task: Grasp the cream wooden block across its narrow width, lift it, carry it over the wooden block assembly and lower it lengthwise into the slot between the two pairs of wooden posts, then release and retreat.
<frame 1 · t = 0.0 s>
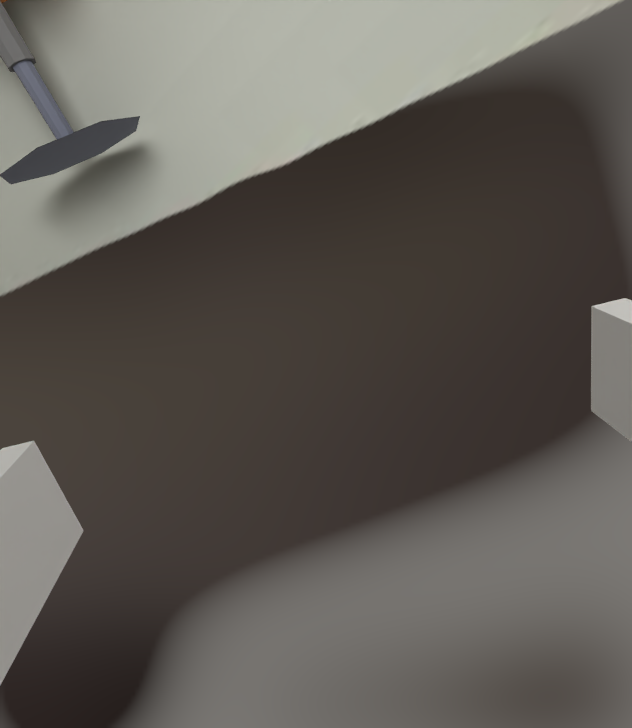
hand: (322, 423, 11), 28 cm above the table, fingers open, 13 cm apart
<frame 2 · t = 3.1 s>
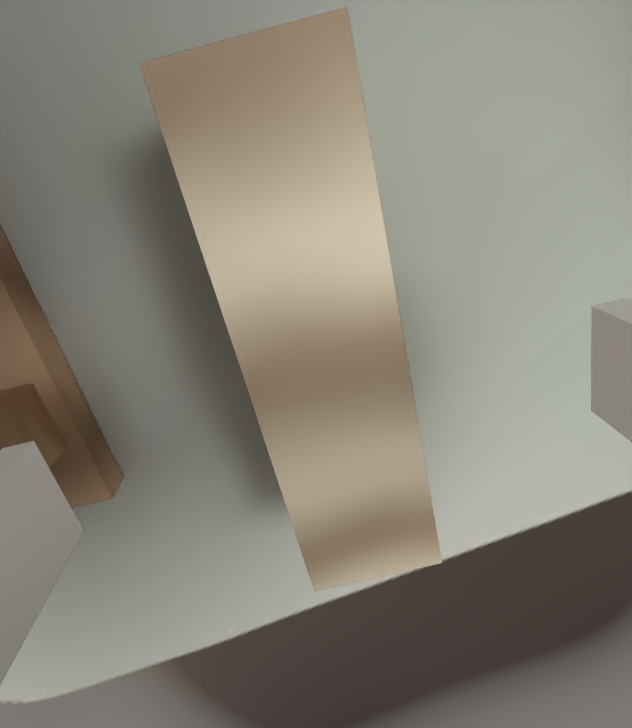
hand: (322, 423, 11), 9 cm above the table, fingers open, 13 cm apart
cream wooden block: (312, 302, 19), on the table
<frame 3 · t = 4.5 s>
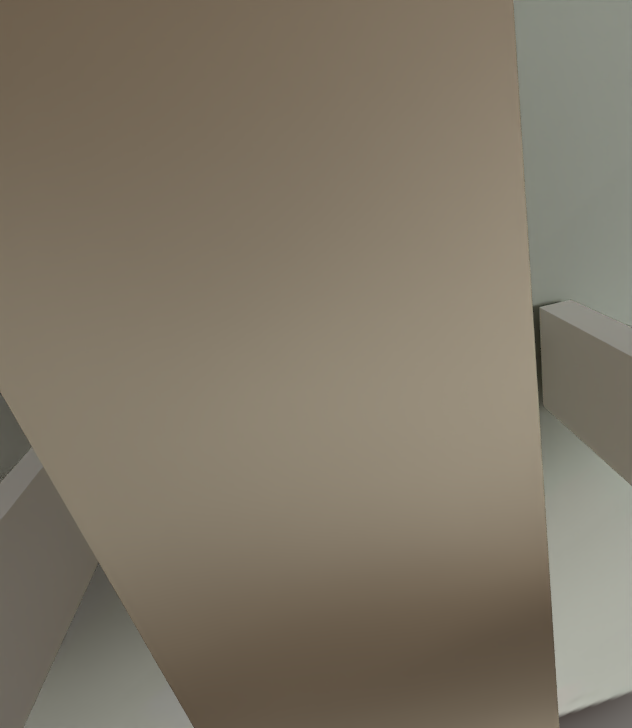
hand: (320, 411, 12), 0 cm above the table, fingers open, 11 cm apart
cream wooden block: (320, 402, 12), on the table
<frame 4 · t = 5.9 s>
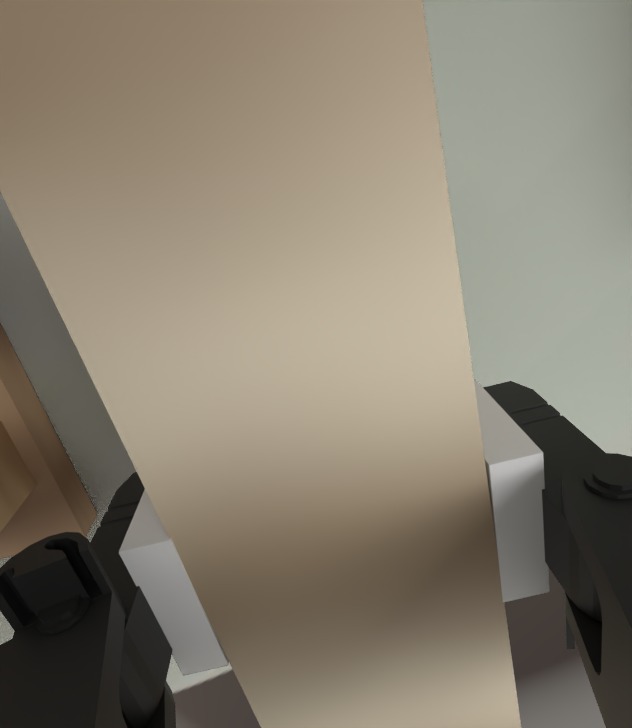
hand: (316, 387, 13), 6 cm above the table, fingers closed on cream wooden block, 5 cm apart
cream wooden block: (315, 381, 13), point 6 cm above the table, touching gripper
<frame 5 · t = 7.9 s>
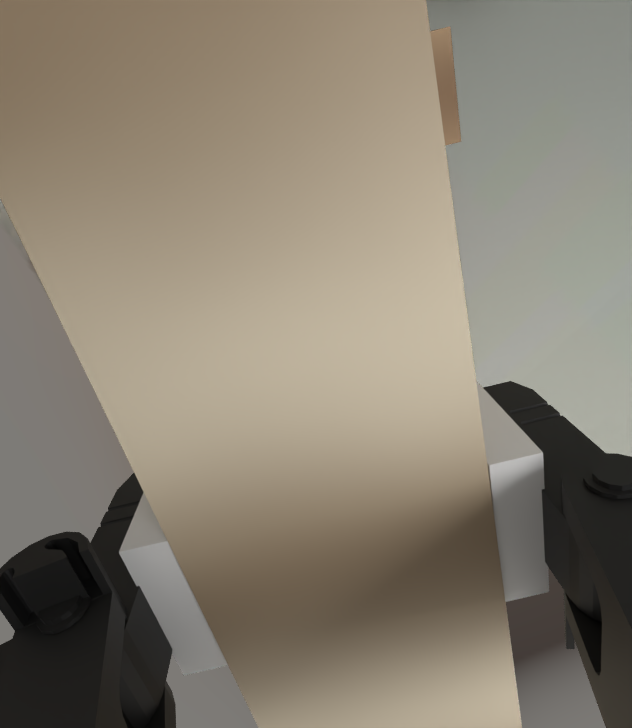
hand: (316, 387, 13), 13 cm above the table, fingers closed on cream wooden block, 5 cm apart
wooden block assembly: (303, 276, 25), on the table
cream wooden block: (316, 384, 13), point 13 cm above the table, touching gripper
when the fingers open (2 cm above the table, at t = 10.1 s): cream wooden block stays where it is, resting on wooden block assembly.
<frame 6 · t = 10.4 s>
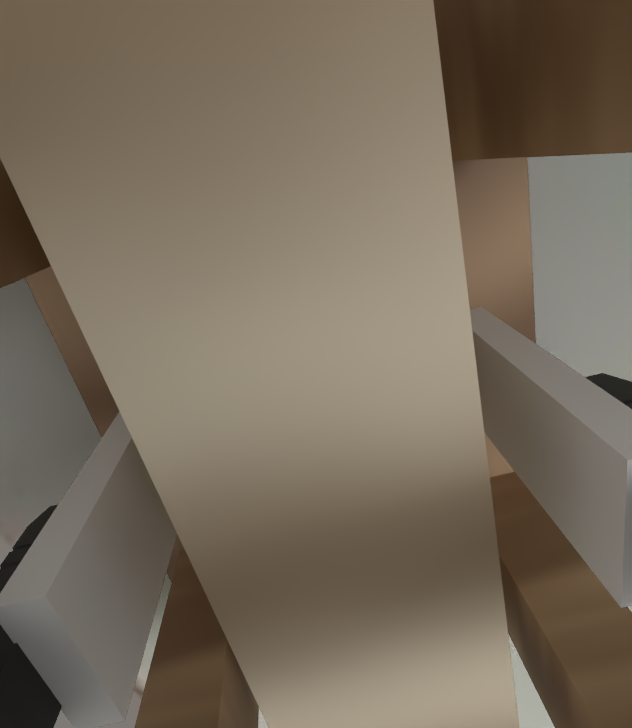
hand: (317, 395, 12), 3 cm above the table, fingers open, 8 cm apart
wooden block assembly: (310, 357, 15), on the table
cream wooden block: (317, 380, 14), point 1 cm above the table, touching wooden block assembly
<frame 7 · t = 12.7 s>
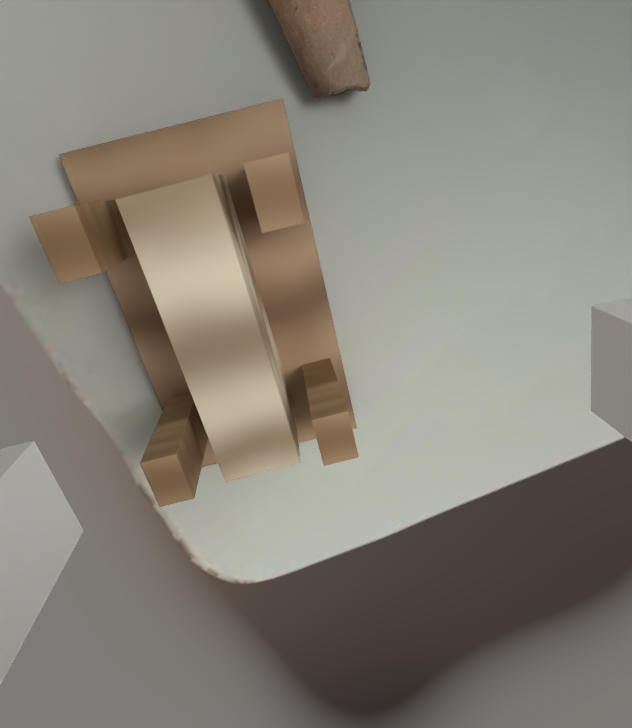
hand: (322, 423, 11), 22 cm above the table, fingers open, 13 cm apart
wooden block assembly: (229, 304, 32), on the table
cream wooden block: (229, 311, 31), point 1 cm above the table, touching wooden block assembly
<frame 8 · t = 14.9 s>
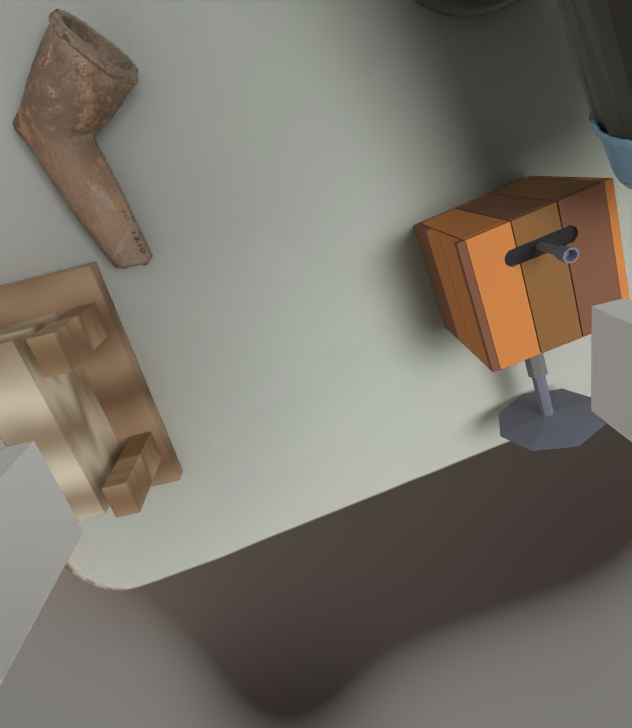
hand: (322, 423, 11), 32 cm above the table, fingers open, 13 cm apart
wooden block assembly: (76, 392, 44), on the table
wooden box with plunger: (497, 303, 44), on the table
cream wooden block: (71, 400, 43), point 1 cm above the table, touching wooden block assembly
pipe: (116, 154, 37), on the table
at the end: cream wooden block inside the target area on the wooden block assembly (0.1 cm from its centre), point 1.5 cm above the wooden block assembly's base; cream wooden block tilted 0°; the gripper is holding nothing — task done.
